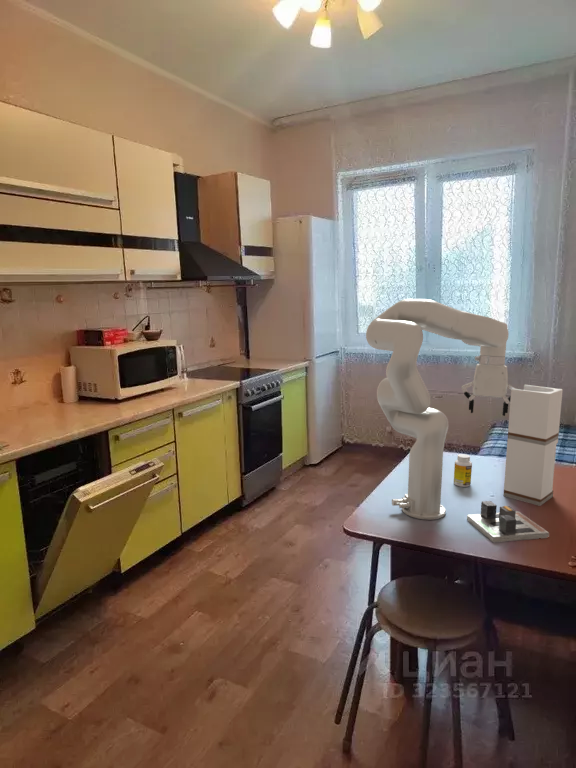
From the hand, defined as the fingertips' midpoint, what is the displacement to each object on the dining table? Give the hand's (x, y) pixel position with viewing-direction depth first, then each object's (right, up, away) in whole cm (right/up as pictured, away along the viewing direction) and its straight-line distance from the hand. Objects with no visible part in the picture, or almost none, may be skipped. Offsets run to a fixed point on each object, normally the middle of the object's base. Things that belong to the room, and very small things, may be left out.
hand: (487, 413), depth 170 cm
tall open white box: (+13, -27, -1) cm, 30 cm away
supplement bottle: (-5, -25, +9) cm, 27 cm away
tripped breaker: (-4, -29, -24) cm, 38 cm away
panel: (-4, -31, -24) cm, 39 cm away
